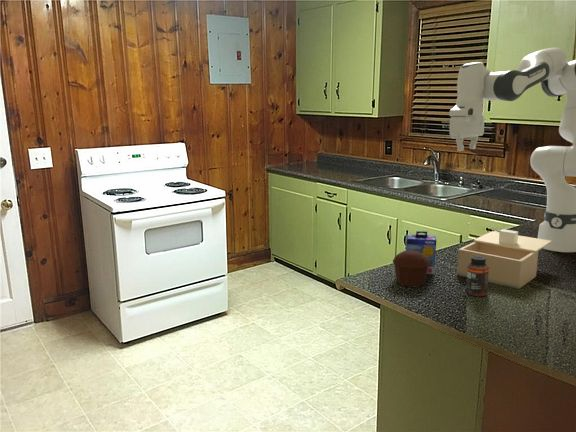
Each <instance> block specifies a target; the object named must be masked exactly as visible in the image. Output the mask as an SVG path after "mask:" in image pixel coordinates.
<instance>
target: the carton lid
mask: <svg viewBox="0 0 576 432" xmlns="http://www.w3.org/2000/svg"><path fill="white" fill-rule="evenodd" d="M473 242H479V243H485V244H490V245H496V246H502V247H507V248H513V249H518V250H524V251H529V252H535V253H536V252H538V253H539V251H540V250H543V248H544V247H546V246H547V245H549V244H550V243H552V241H550V240H544V239H538V237H537V238H536V237H531V236H525V235H524V236H523V235H519V231H518V230H517V231H516V230H511V229H505V228H503V229H501V230H499V231H494V230H493V231H490V232H487V233H485V234H483V235H481V236H479V237H477V238H474V239H473Z"/></svg>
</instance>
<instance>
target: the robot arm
mask: <svg viewBox="0 0 576 432" xmlns="http://www.w3.org/2000/svg"><path fill="white" fill-rule="evenodd" d="M484 65H485V64H484V63H483V62H482V61H474V62H468V63H464V64H462V65H460V67H459V71H458V75H457V83H456V91H457V96H456V97H457V98H456V101H455V105H454V106H453V107H452V108H450V110H449V113H448V114H449V117H450V118H449V137H450V138H451V139H455V143H456V147H457V149H456V150H457V152H464V150H465V146H464V143H463V142H464V139H465V138H466V139H467V138H470V143H469V145H468V149H470V150H475V149H476V148H477V146H476V145H477V143H478V139H479V137H481V136H483V135H484V133H485V117H484V115H483V107H484V105H483V104H484V101H504V102H514V101H517V100H518V99H519V98H520V97H522V95H523V94H524V93H525V92H526V91H527V90H529V89H530V88H532V87H534V86H537V85H538V84H540V86H541V89H542V91H543V92H544V93H545V94H546V96H548V97H551V98H553V97H555V98H556V97H560V96H563V95H566V102H565V105H564V108H563V111H562V115H561V119H560V123H559V128H558V134H559V135H560V136H561V137H562V139H564V140H566V141H567V142H570V143H571V146H563V145H547V146H546V145H545V146H539V147H537V148H535V149H534V150H533V152H532V153H531V155H530V159H529V163H530V167H531V169H532V170H533V171H534V172H535V173H536V174H537V175H538V176H539V177H540V178H541V179H542V181H543V184H544V185H545V188H546V210H544V215H543V220H544V221H542V222H541V223H540V224H539V226H538V234H537V238H538V239H544V240H550V241H552V243H550V244H549V245H547V246H546V247H544V248H542V250H547V251H551V252H559V253H576V187H575V186H574V185H572V184H569V183H568V182H567V180H566V177H576V59H573V60H570V61H568V57H567V53H566V52H565V50H563V48H562V49H561V48H560V47H548V48H543V49H540V50H537V51H534V52H532V53H529V54H527V55H526V56H524V57H523V58H522V59H521V60H520V62H519V64H518V70H516V69H512V70H506V71H505V70H504V71H495V72H493V71H491V70H489V69H487V68H486V66H484Z"/></svg>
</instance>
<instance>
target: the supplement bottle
mask: <svg viewBox="0 0 576 432" xmlns="http://www.w3.org/2000/svg"><path fill="white" fill-rule="evenodd" d="M471 261H472V262H471V263H469V264H468V270H467V277H466V290H465V291H466V293H467V294H468V295H470V296H474V297H484V296H486V295H487V294H488V288H489V282H488V273H489V267H488V265H487V264H486V263H485V262H486V258H485V257H483V256H472V257H471Z"/></svg>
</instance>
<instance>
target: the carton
mask: <svg viewBox="0 0 576 432" xmlns="http://www.w3.org/2000/svg"><path fill="white" fill-rule="evenodd" d="M457 252H458V253H457V268H456V269H457V270H456V275H457V276H461V277H466V278H467V270H468V264H469V263H471V262H472V261H471V257H472V256H483V257H485V258H486V262H485V263H486V264H487V265H488V267H489V273H488V283H491V284H497V285H500V286H505V287H509V288H512V289H513V288H514V289H516V290H519V289H521V288H522V287H523V286H525V285H526V284H528V283H530V282H531V281H532V280H534V279H535V278H536V277H537V270H538V260H539V251H538V252H536V253H535V252H529V251H524V250H518V249H513V248H507V247H502V246H496V245H490V244H485V243H479V242H474V241H473V242H471V243H469V244H466V245H465V246H463V247H460V248H458V251H457Z"/></svg>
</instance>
